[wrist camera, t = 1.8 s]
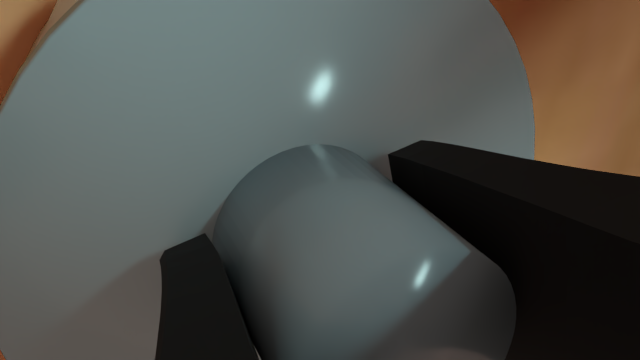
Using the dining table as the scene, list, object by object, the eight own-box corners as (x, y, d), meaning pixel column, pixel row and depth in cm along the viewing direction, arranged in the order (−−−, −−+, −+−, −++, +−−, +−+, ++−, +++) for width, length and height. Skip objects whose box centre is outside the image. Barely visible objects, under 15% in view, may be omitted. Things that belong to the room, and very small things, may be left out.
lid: (497, -158, 9) (754, -180, 6) (521, 298, 14) (670, 420, 11) (-189, 42, 7) (-375, 185, 3) (125, 511, 11) (167, 750, 8)
